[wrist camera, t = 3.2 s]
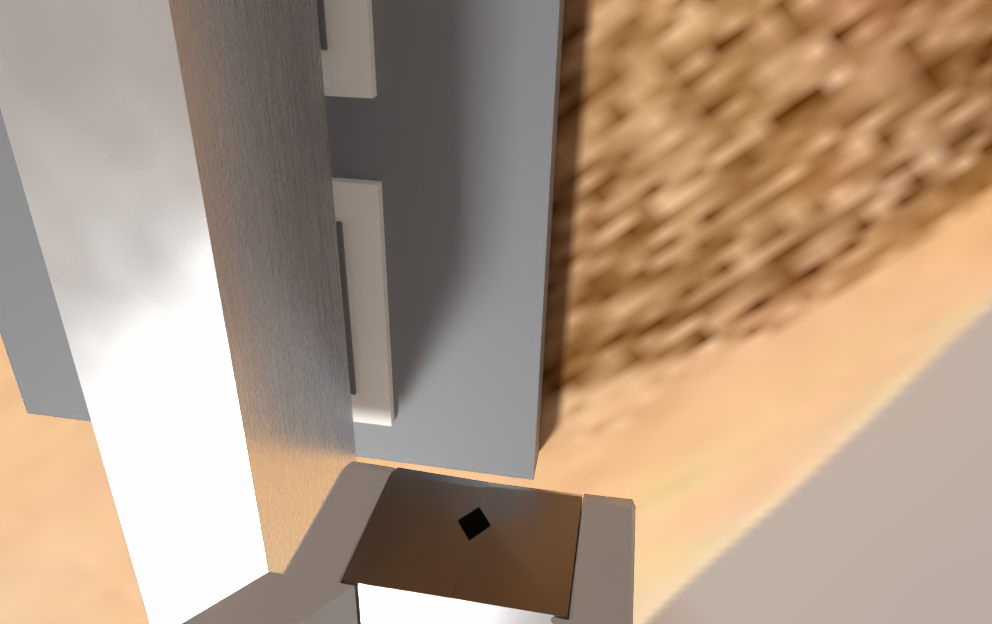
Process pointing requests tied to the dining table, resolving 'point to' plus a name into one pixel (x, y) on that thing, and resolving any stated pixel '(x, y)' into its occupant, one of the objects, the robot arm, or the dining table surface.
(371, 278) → the label panel
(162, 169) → the grey rectangular block
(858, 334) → the dining table surface
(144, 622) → the dining table surface
